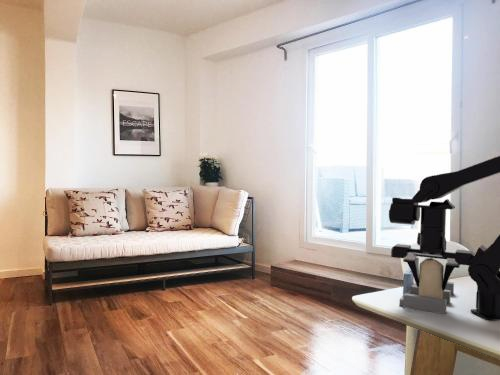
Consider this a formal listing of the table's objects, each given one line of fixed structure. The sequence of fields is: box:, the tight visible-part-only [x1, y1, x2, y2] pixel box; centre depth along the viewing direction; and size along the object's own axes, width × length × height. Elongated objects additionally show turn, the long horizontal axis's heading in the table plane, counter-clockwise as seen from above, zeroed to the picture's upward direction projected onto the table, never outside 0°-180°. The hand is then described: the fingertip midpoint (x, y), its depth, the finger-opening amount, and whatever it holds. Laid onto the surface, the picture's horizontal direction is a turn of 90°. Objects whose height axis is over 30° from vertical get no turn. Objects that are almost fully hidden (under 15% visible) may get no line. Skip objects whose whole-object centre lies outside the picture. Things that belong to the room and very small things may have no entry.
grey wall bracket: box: [399, 267, 455, 315], centre depth 113 cm, size 22×12×6 cm, turn 150°
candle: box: [419, 257, 445, 299], centre depth 107 cm, size 6×6×10 cm
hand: (430, 288), depth 107 cm, fingers closed on candle, 5 cm apart
